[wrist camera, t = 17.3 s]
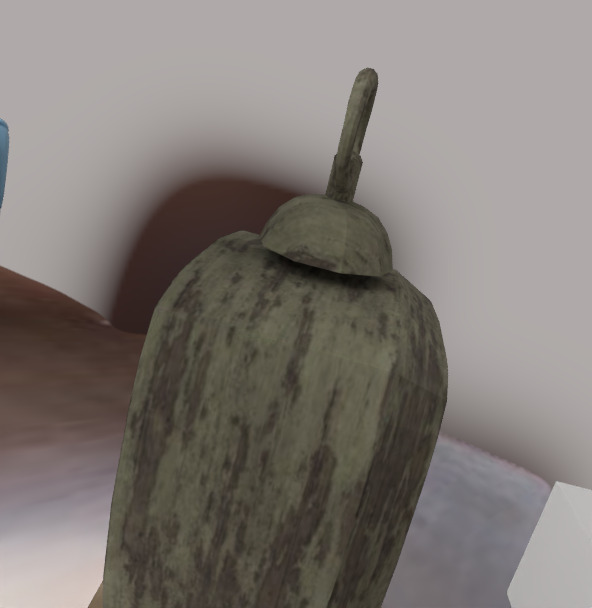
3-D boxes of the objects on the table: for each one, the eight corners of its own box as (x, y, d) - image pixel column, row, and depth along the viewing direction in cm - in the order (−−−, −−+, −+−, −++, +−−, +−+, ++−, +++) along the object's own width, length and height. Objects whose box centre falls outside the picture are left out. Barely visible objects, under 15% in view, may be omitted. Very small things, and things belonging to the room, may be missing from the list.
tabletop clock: (199, 499, 34) (289, 68, 27) (343, 542, 34) (477, 111, 26) (76, 739, 21) (187, -6, 13) (314, 820, 20) (580, 82, 12)
